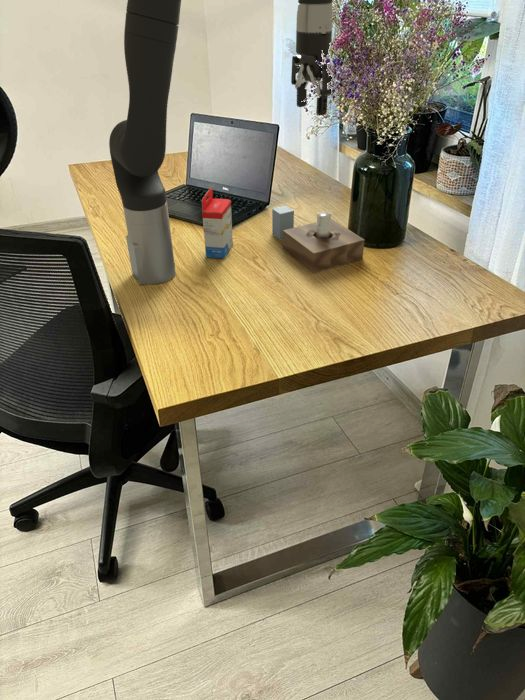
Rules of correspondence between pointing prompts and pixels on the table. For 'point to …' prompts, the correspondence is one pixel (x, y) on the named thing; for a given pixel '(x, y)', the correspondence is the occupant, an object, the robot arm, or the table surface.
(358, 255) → the socket block
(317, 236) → the round bit
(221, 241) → the ink box
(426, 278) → the table surface
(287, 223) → the square bar
